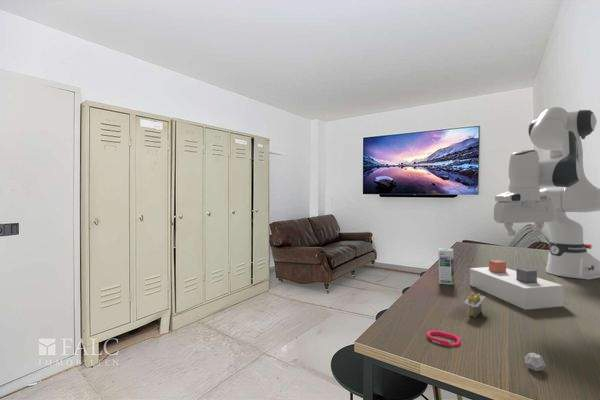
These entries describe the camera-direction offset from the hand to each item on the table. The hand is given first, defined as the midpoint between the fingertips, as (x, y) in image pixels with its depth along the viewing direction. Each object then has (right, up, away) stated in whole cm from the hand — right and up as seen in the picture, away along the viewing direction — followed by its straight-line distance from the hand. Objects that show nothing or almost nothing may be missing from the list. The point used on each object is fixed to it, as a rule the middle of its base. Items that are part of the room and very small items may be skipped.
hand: (524, 235), depth 103 cm
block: (0, -23, +6) cm, 24 cm away
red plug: (-1, -17, +13) cm, 21 cm away
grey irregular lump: (-27, -25, -38) cm, 53 cm away
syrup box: (-16, -23, +22) cm, 36 cm away
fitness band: (-41, -26, -25) cm, 54 cm away
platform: (-23, -25, -9) cm, 35 cm away
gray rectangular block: (+1, -17, 0) cm, 17 cm away
